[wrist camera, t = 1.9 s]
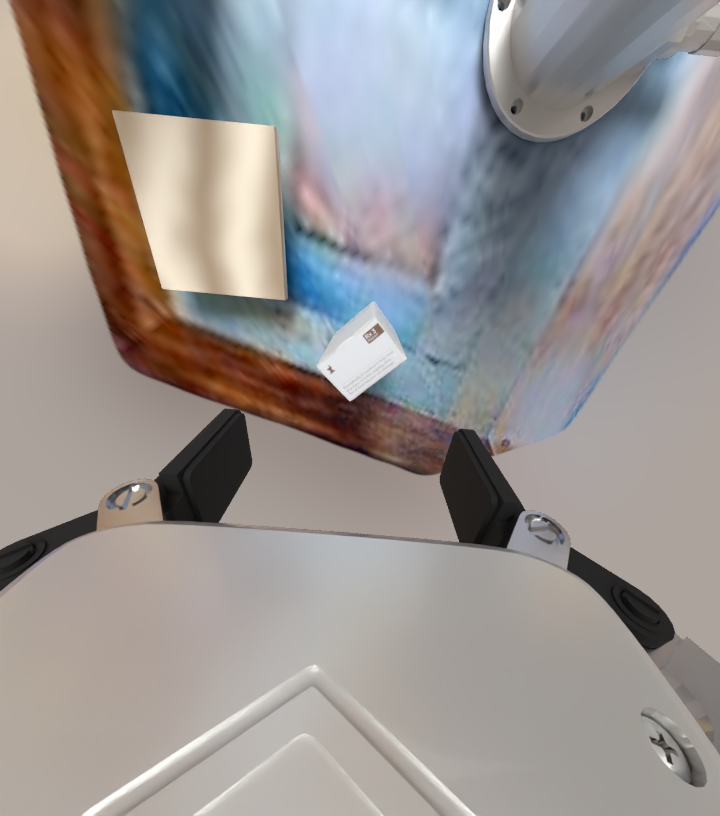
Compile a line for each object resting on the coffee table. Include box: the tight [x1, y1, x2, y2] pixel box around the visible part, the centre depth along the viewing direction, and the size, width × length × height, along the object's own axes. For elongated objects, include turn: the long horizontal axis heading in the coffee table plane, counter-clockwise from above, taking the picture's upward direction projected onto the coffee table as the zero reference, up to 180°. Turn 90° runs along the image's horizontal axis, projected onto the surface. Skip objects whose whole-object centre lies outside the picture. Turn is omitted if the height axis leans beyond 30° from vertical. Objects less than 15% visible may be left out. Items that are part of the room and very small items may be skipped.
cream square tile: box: [112, 110, 288, 300], centre depth 23 cm, size 12×12×4 cm
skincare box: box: [316, 301, 407, 401], centre depth 25 cm, size 6×4×12 cm
